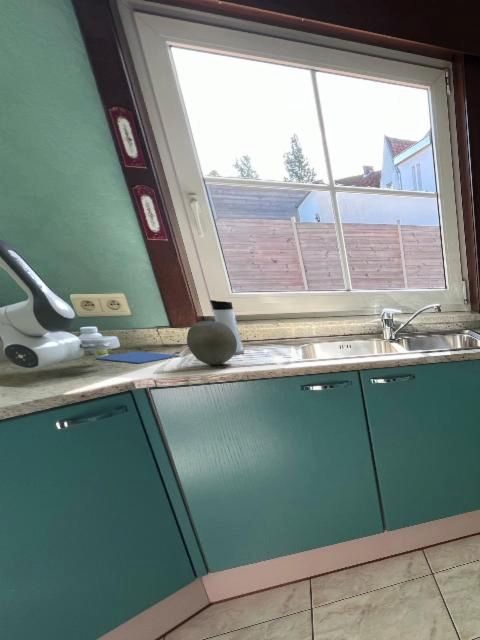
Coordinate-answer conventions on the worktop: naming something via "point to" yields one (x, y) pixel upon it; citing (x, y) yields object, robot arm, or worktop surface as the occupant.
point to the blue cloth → (138, 357)
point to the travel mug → (227, 320)
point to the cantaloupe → (211, 342)
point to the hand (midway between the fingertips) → (94, 339)
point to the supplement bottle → (93, 332)
